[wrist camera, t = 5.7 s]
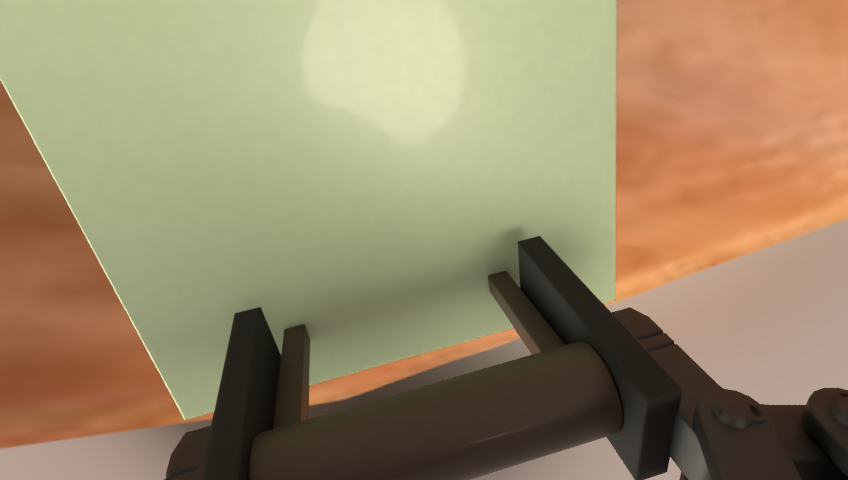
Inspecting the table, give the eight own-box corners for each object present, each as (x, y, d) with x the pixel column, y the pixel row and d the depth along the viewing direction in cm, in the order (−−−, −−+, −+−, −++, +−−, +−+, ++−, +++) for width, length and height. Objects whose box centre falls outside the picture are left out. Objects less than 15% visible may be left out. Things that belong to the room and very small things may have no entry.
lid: (603, 288, 18) (769, 436, 12) (190, 402, 17) (102, 656, 10) (597, -357, 11) (1069, -1017, 4) (-165, -275, 9) (-1623, -1215, 2)
